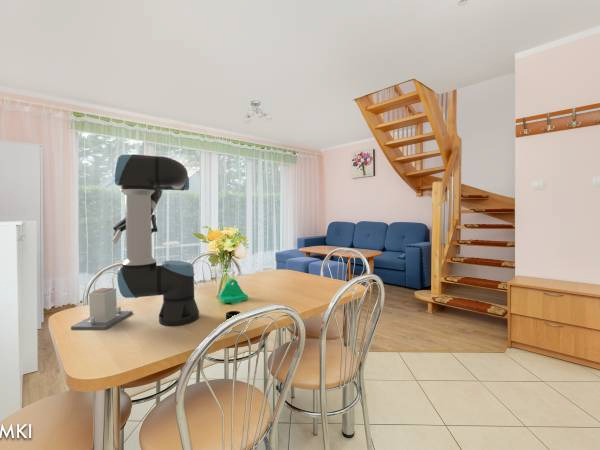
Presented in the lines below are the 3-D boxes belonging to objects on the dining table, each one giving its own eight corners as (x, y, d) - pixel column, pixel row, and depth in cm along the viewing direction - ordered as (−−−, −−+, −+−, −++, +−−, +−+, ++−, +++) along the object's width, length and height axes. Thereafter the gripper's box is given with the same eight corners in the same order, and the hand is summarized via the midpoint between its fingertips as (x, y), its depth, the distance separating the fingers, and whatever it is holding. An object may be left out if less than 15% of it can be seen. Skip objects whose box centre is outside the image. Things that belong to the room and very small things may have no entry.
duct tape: (220, 324, 116) (220, 317, 116) (227, 315, 126) (227, 308, 126) (240, 325, 116) (240, 317, 116) (245, 316, 126) (245, 309, 126)
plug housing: (116, 314, 123) (116, 287, 122) (105, 321, 116) (104, 292, 115) (102, 314, 123) (101, 287, 122) (90, 321, 116) (89, 292, 115)
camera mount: (224, 305, 139) (224, 283, 138) (219, 301, 145) (219, 280, 145) (248, 301, 145) (248, 280, 145) (242, 297, 152) (242, 277, 151)
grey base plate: (132, 313, 127) (132, 305, 127) (105, 329, 111) (105, 320, 110) (102, 313, 128) (102, 305, 128) (71, 329, 111) (70, 319, 111)
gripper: (172, 214, 154) (158, 247, 140) (124, 214, 154) (105, 247, 140) (167, 204, 148) (152, 237, 134) (117, 203, 149) (97, 236, 135)
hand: (128, 242), depth 137 cm, fingers open, 13 cm apart
